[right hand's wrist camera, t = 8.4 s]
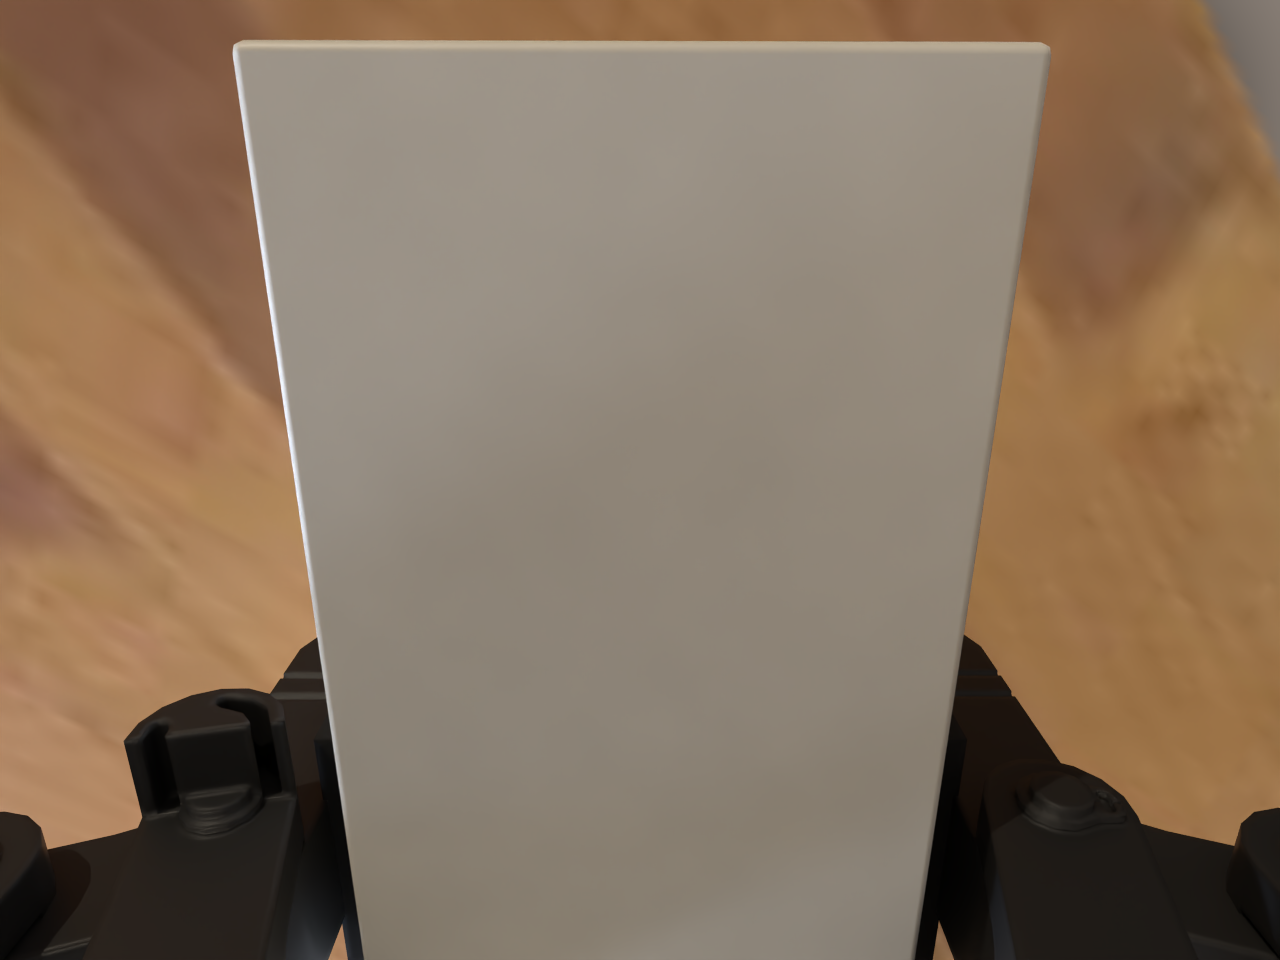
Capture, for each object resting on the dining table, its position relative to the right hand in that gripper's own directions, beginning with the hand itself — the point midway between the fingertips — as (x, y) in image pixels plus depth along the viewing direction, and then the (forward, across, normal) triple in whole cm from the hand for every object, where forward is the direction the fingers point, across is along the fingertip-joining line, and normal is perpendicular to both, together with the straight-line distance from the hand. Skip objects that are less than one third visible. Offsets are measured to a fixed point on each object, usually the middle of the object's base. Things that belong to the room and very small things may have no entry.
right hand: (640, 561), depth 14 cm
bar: (+1, 0, -23) cm, 23 cm away
